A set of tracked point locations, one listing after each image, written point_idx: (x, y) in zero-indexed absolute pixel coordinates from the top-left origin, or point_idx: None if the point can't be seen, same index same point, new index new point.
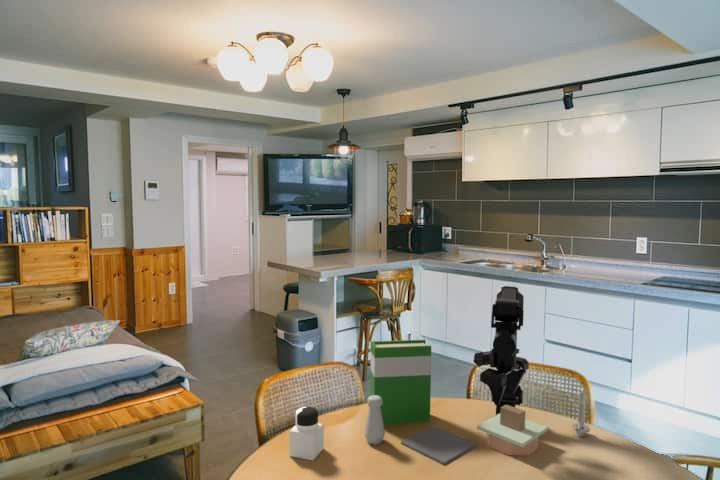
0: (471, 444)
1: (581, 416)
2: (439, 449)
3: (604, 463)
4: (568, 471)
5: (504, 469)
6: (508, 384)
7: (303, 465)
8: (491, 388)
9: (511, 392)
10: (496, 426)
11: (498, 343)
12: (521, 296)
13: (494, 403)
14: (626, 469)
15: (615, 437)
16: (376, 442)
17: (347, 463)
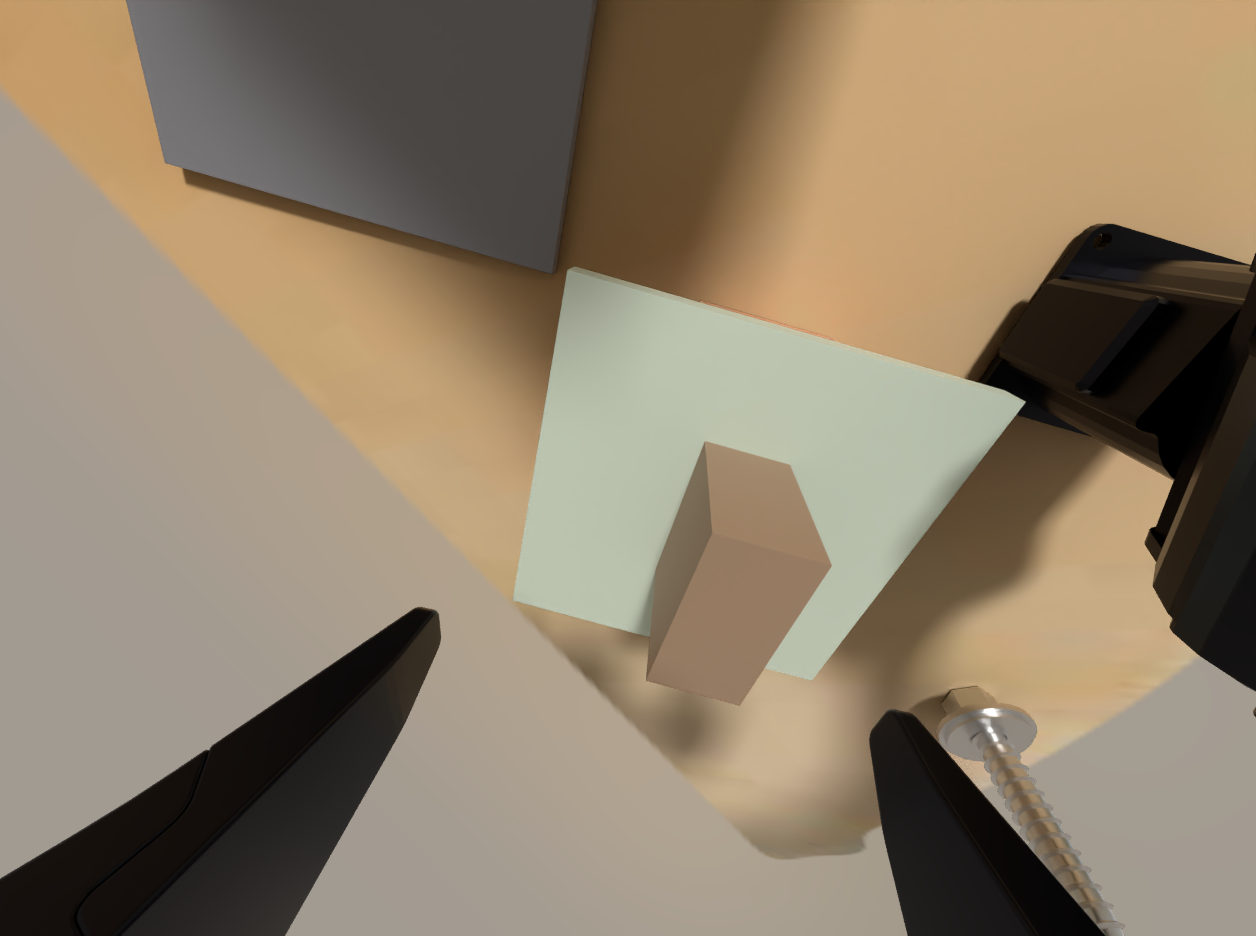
0: (513, 244)
1: (1013, 810)
2: (260, 22)
3: (720, 744)
4: (588, 666)
5: (425, 479)
6: (1000, 893)
7: None
8: (8, 925)
9: (887, 765)
10: (648, 426)
11: None
12: None
13: (406, 615)
14: (713, 780)
15: (978, 782)
16: None
17: None
